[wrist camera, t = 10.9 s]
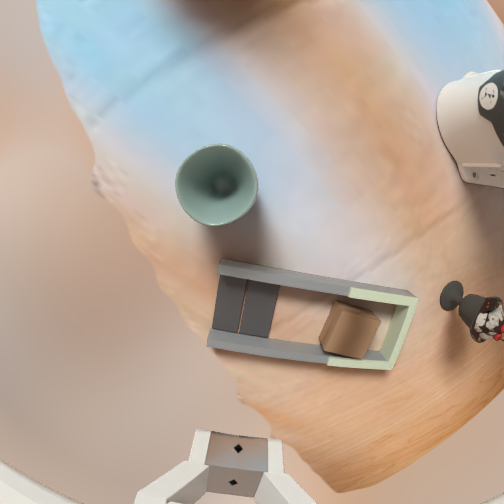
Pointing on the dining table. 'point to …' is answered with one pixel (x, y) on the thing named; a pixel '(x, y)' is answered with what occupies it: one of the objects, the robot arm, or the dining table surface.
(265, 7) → the dining table surface
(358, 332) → the block
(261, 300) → the box
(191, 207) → the cup
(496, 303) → the sundae
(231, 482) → the robot arm
